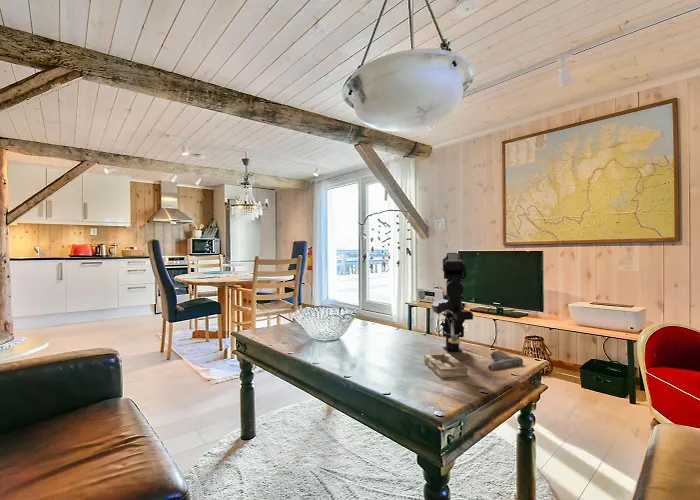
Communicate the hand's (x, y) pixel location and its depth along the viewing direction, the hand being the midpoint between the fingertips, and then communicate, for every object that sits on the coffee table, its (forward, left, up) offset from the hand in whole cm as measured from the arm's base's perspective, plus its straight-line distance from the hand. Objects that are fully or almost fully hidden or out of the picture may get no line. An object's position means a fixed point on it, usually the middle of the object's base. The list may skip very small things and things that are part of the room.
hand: (454, 333), depth 137 cm
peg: (0, 0, -3) cm, 3 cm away
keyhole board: (+2, -4, -13) cm, 14 cm away
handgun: (-2, +18, -14) cm, 23 cm away
